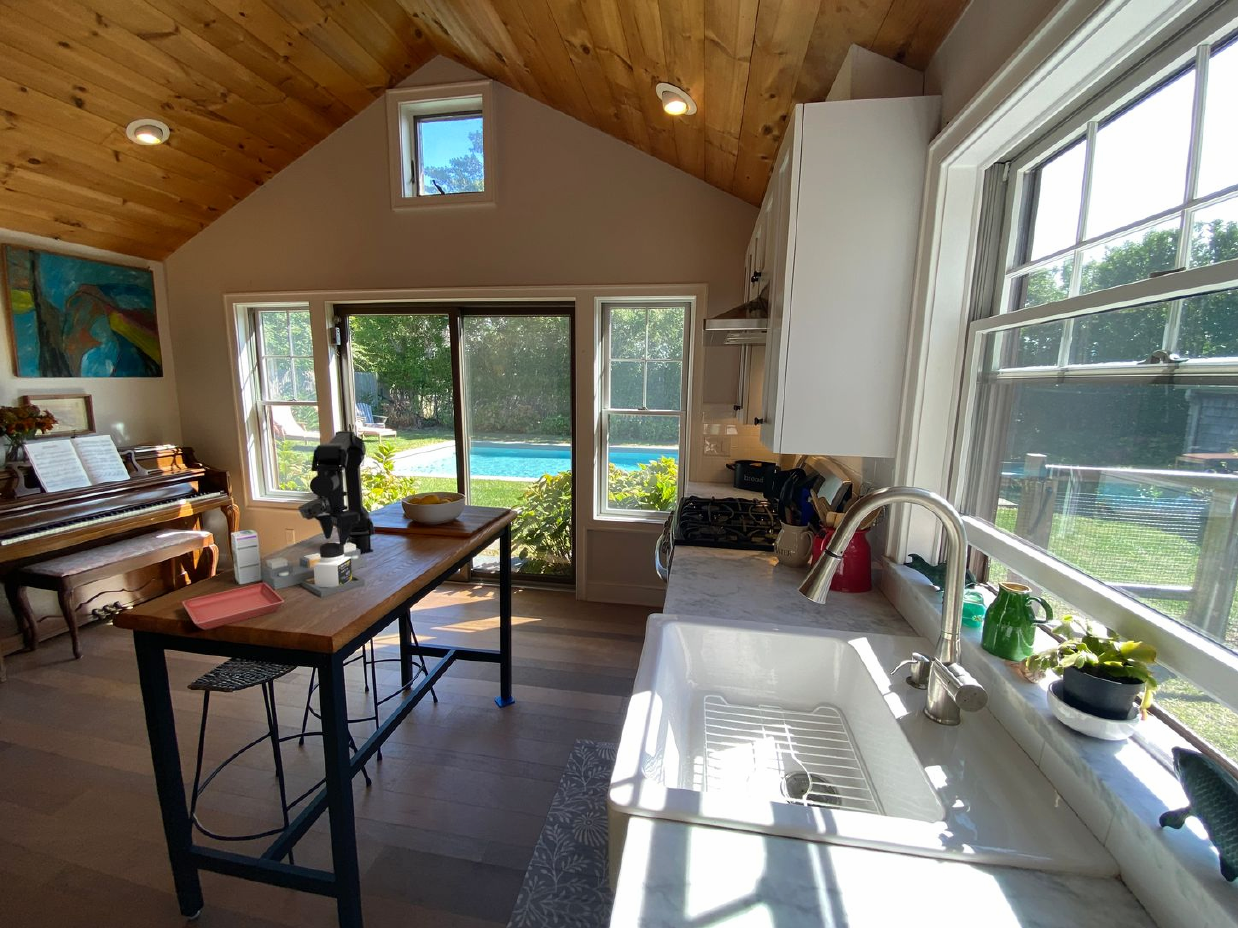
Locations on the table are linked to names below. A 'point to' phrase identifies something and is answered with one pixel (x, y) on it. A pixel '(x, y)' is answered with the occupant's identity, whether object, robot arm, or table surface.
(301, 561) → the grey slotted tray
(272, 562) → the breaker
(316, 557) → the block
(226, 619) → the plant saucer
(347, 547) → the breaker
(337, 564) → the medicine bottle
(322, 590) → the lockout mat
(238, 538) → the syrup box
